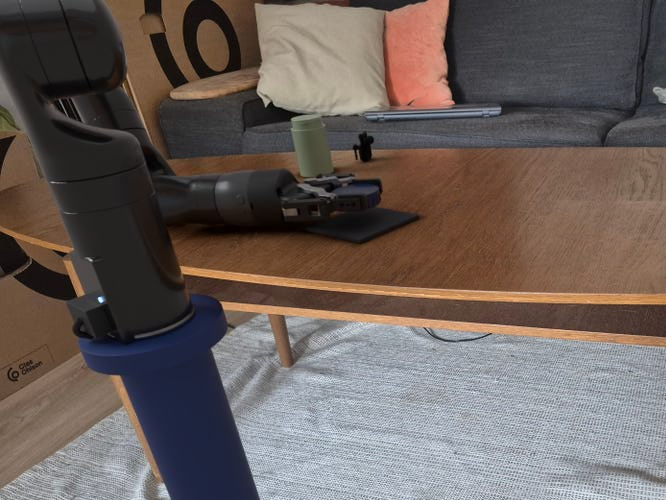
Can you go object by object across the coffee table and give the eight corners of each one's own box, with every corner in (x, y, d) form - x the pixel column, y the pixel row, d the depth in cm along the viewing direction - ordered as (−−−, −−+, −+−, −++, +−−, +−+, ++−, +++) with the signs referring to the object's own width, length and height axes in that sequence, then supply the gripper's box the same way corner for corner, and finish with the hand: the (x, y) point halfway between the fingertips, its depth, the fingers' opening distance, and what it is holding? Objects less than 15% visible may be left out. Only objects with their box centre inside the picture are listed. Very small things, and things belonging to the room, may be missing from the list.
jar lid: (369, 194, 95) (367, 180, 94) (389, 203, 90) (387, 189, 89) (325, 204, 92) (322, 190, 91) (343, 215, 87) (341, 201, 86)
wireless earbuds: (371, 155, 129) (367, 128, 126) (383, 155, 128) (379, 128, 125) (353, 165, 123) (348, 137, 121) (365, 165, 122) (360, 136, 120)
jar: (316, 178, 117) (305, 121, 112) (293, 176, 120) (281, 120, 115) (341, 169, 121) (330, 114, 116) (317, 167, 124) (306, 113, 119)
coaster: (360, 243, 85) (359, 239, 85) (306, 231, 92) (305, 227, 91) (419, 218, 92) (418, 214, 92) (365, 208, 99) (364, 204, 98)
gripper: (285, 207, 100) (392, 204, 97) (241, 242, 88) (362, 239, 85) (274, 157, 97) (385, 152, 94) (226, 186, 84) (352, 181, 82)
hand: (373, 194), depth 90 cm, fingers closed on jar lid, 6 cm apart
